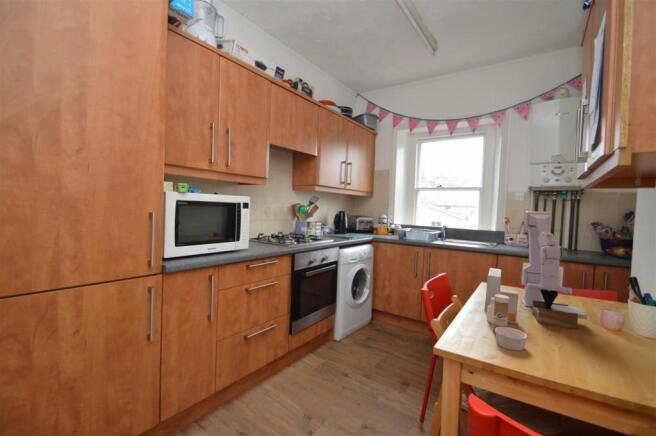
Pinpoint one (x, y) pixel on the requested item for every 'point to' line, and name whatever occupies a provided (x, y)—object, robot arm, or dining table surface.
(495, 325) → the sprinkles bottle
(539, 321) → the case
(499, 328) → the ramekin
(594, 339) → the dining table surface
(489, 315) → the salt shaker
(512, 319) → the skincare box
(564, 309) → the lid
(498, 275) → the skincare box
